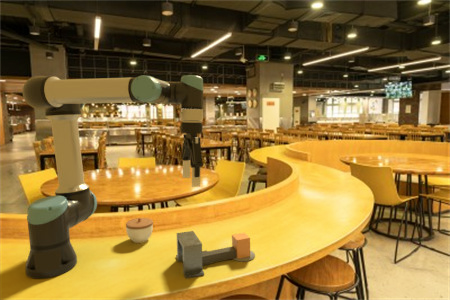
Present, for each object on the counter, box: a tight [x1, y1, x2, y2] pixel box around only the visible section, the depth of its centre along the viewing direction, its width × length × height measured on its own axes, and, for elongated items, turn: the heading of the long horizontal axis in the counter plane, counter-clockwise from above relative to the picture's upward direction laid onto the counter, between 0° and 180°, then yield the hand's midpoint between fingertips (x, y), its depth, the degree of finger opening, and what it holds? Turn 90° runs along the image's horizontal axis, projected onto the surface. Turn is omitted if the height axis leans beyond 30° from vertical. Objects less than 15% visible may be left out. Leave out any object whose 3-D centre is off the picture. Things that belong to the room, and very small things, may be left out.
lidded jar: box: [125, 217, 154, 244], centre depth 123 cm, size 11×11×9 cm
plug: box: [202, 232, 251, 267], centre depth 106 cm, size 5×18×7 cm, turn 110°
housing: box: [175, 230, 205, 280], centre depth 101 cm, size 16×6×10 cm, turn 21°
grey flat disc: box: [232, 250, 256, 263], centre depth 109 cm, size 9×9×1 cm
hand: (190, 181), depth 105 cm, fingers open, 13 cm apart
